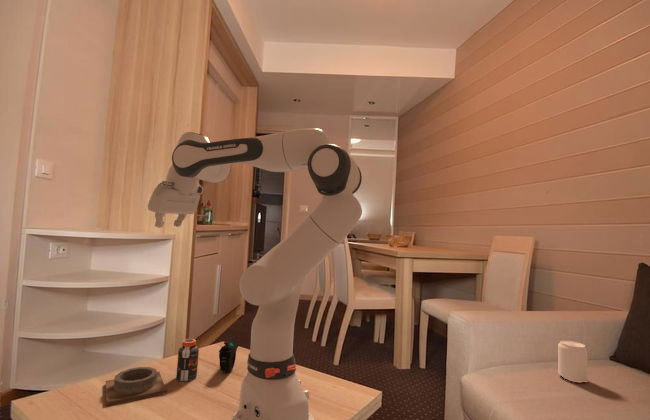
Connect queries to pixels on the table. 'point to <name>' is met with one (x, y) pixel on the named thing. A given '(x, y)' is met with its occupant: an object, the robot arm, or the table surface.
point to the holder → (134, 385)
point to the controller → (228, 355)
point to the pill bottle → (187, 360)
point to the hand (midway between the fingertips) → (168, 226)
